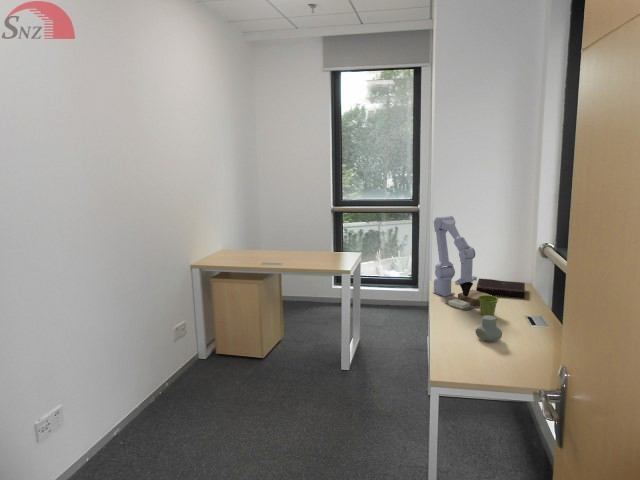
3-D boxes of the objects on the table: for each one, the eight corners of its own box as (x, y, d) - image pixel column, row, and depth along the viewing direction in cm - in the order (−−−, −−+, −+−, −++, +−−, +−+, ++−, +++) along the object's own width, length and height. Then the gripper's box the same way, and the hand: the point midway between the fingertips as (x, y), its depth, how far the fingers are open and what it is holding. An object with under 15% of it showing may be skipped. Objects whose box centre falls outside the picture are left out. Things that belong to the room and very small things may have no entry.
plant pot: (500, 318, 230) (501, 301, 228) (480, 318, 230) (481, 301, 228) (493, 311, 239) (494, 295, 237) (475, 311, 239) (475, 295, 237)
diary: (524, 300, 256) (524, 291, 255) (475, 295, 266) (476, 287, 265) (524, 289, 273) (524, 281, 272) (478, 285, 283) (478, 277, 281)
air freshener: (472, 336, 209) (473, 314, 207) (487, 333, 212) (488, 312, 210) (489, 345, 199) (490, 323, 197) (505, 342, 202) (506, 320, 200)
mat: (445, 303, 252) (445, 303, 252) (455, 300, 256) (455, 300, 256) (466, 310, 241) (466, 310, 241) (476, 307, 245) (476, 307, 245)
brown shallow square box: (457, 300, 256) (457, 293, 255) (472, 296, 262) (472, 289, 261) (475, 306, 246) (476, 299, 245) (490, 302, 252) (491, 294, 252)
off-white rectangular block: (456, 298, 253) (456, 302, 253) (448, 300, 249) (448, 304, 250) (470, 303, 245) (469, 306, 246) (462, 305, 242) (462, 309, 242)
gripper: (463, 274, 240) (462, 300, 242) (481, 270, 247) (481, 294, 250) (452, 271, 245) (451, 296, 248) (471, 267, 253) (470, 291, 256)
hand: (465, 295), depth 249 cm, fingers closed
